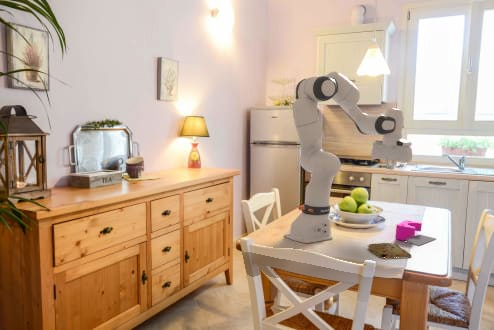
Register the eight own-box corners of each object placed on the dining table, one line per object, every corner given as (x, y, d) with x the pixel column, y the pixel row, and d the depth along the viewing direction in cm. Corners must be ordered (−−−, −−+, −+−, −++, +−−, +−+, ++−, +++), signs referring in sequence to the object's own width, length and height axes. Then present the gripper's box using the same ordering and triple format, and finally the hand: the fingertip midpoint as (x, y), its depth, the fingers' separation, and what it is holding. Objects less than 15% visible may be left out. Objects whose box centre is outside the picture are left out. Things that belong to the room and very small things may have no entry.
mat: (418, 246, 172) (419, 245, 172) (401, 241, 178) (401, 240, 178) (436, 239, 182) (436, 238, 182) (419, 234, 188) (419, 234, 188)
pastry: (361, 254, 161) (361, 247, 160) (374, 243, 175) (374, 237, 175) (406, 264, 151) (407, 257, 151) (415, 252, 165) (416, 245, 165)
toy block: (395, 238, 180) (412, 242, 175) (396, 224, 179) (414, 228, 175) (404, 232, 192) (420, 235, 187) (405, 220, 191) (421, 222, 187)
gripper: (369, 140, 202) (368, 167, 203) (408, 143, 186) (405, 172, 188) (376, 139, 206) (374, 166, 207) (414, 142, 190) (412, 171, 192)
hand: (389, 169), depth 198 cm, fingers closed
